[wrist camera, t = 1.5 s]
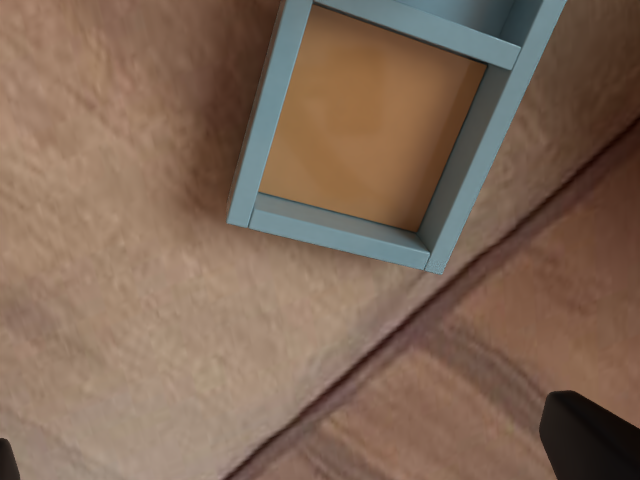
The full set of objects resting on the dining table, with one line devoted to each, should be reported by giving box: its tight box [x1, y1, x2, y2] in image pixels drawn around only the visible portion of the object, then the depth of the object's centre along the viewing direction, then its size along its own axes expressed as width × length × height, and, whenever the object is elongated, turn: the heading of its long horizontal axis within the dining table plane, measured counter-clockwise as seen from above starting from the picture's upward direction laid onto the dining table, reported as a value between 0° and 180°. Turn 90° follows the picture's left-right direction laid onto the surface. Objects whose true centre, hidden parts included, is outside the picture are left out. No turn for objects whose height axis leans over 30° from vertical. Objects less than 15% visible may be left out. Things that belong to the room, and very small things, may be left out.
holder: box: [226, 0, 567, 275], centre depth 18 cm, size 9×16×2 cm, turn 162°
